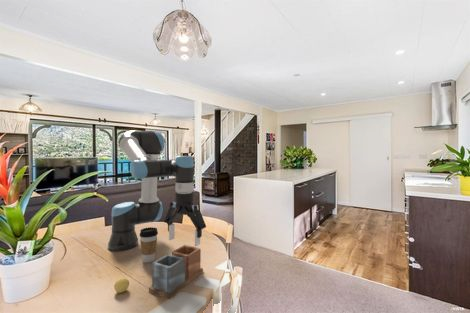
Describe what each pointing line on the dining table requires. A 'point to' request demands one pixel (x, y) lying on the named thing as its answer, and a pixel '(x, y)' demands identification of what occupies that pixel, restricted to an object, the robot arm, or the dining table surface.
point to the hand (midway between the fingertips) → (184, 242)
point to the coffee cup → (148, 243)
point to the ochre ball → (121, 284)
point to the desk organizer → (175, 271)
